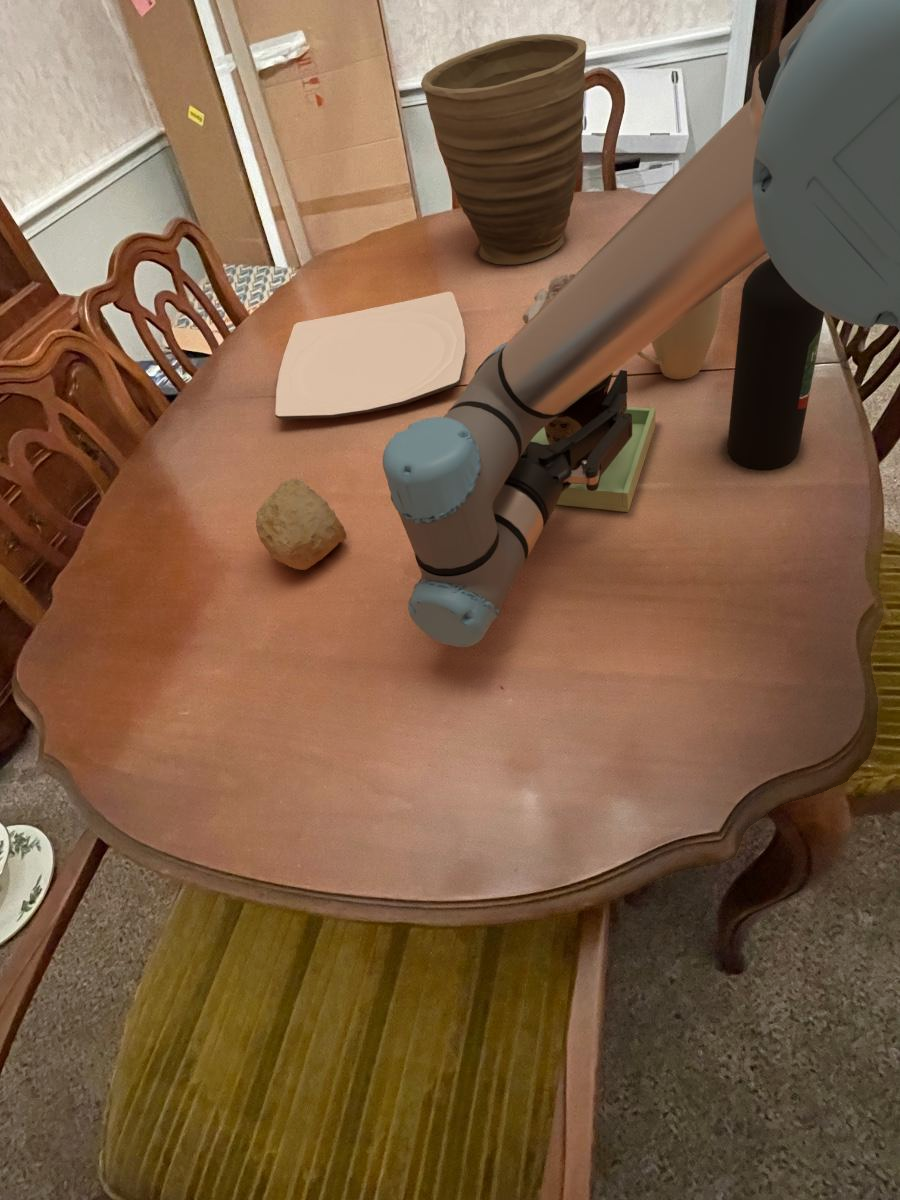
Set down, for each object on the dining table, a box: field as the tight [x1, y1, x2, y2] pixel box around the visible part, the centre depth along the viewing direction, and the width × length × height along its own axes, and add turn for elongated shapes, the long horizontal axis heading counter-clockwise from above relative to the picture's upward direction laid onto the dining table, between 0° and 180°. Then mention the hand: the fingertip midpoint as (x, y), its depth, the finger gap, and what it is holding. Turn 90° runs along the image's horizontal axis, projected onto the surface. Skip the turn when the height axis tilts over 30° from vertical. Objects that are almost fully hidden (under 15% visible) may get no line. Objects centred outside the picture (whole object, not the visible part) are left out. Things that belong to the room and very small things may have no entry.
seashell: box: [522, 273, 576, 325], centre depth 107 cm, size 14×9×10 cm
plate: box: [275, 290, 467, 420], centre depth 112 cm, size 29×29×3 cm
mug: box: [636, 286, 724, 380], centre depth 93 cm, size 11×10×12 cm
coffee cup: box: [544, 372, 614, 470], centre depth 84 cm, size 9×8×13 cm
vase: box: [420, 33, 587, 266], centre depth 120 cm, size 24×24×30 cm
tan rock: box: [255, 477, 347, 571], centre depth 85 cm, size 10×10×10 cm
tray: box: [530, 406, 657, 513], centre depth 89 cm, size 15×15×3 cm
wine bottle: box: [726, 257, 826, 471], centre depth 74 cm, size 8×8×30 cm
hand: (587, 377), depth 86 cm, fingers closed on coffee cup, 8 cm apart
